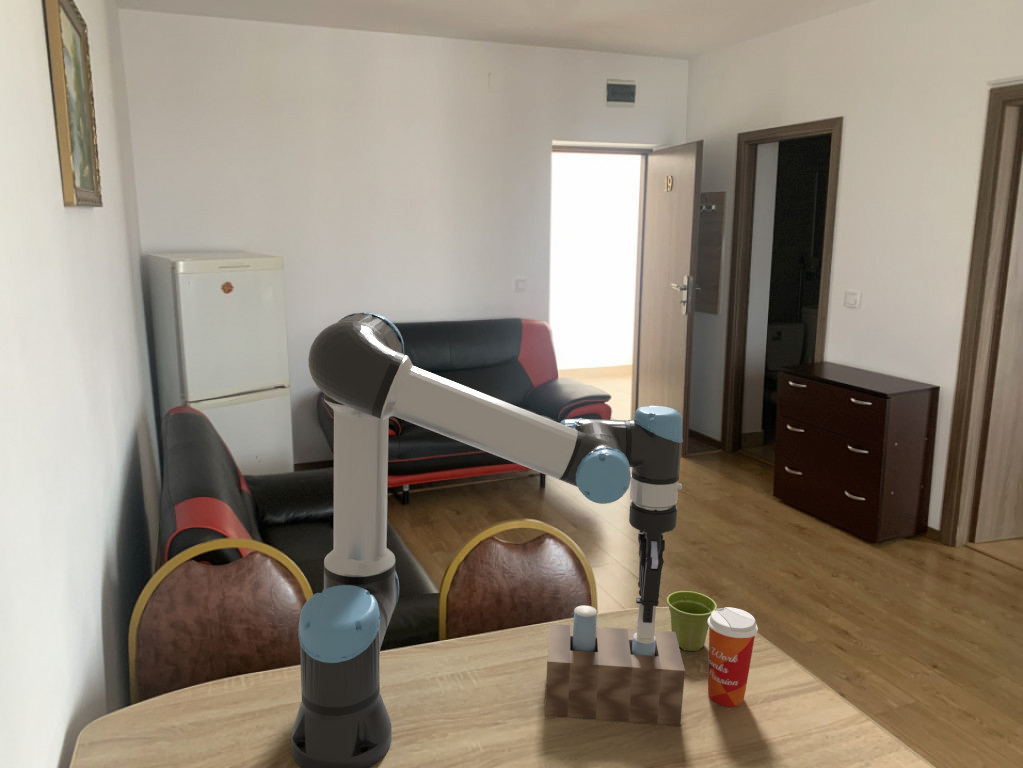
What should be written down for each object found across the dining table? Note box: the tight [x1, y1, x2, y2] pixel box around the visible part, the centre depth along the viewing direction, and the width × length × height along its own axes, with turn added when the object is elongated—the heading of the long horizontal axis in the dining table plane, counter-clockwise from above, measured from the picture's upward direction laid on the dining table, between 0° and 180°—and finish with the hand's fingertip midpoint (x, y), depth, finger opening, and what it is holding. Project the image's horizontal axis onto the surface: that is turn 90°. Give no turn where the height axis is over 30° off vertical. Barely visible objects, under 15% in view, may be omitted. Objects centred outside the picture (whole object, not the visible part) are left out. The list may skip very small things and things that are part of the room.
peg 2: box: [632, 633, 656, 656], centre depth 131 cm, size 4×4×10 cm
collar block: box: [544, 623, 686, 727], centre depth 131 cm, size 22×12×10 cm, turn 86°
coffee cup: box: [707, 606, 759, 708], centre depth 132 cm, size 8×8×15 cm
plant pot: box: [666, 590, 718, 652], centre depth 150 cm, size 9×9×9 cm
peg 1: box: [572, 605, 598, 652], centre depth 130 cm, size 4×4×10 cm
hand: (645, 635), depth 130 cm, fingers closed
